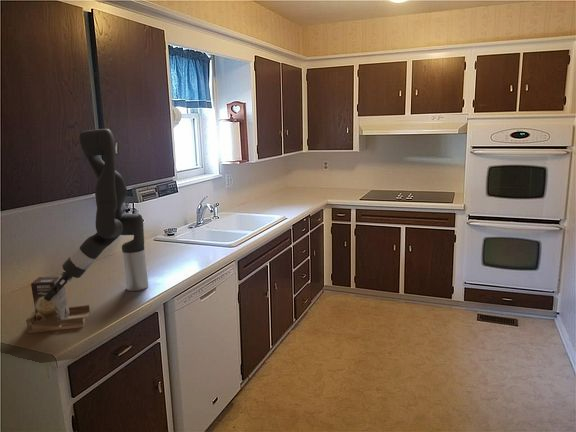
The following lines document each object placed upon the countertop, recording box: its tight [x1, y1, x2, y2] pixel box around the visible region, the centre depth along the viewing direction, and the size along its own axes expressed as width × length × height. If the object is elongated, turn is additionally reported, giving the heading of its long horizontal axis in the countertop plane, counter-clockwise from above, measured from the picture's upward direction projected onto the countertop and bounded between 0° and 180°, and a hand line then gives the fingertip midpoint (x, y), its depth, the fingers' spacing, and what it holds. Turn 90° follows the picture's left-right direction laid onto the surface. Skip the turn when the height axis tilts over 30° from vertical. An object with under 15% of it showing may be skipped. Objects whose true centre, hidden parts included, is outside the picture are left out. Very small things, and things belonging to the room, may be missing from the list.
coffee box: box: [30, 276, 69, 324], centre depth 160 cm, size 9×6×16 cm
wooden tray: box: [25, 304, 91, 334], centre depth 162 cm, size 12×18×5 cm, turn 102°
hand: (49, 295), depth 160 cm, fingers open, 8 cm apart
